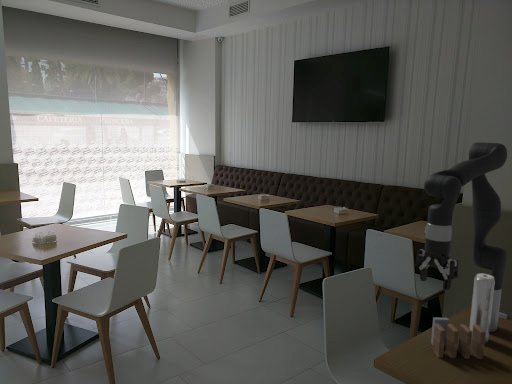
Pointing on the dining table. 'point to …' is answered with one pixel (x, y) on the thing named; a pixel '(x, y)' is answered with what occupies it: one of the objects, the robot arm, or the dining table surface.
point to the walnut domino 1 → (438, 340)
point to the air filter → (482, 302)
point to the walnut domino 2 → (451, 340)
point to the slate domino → (443, 323)
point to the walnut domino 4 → (478, 341)
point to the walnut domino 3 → (465, 341)
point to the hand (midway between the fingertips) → (434, 285)
